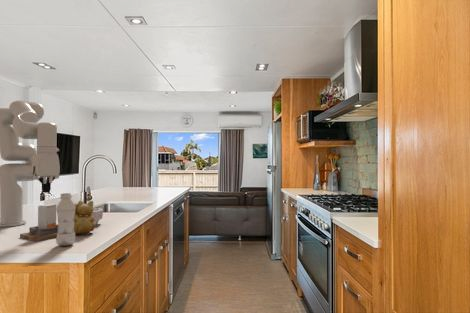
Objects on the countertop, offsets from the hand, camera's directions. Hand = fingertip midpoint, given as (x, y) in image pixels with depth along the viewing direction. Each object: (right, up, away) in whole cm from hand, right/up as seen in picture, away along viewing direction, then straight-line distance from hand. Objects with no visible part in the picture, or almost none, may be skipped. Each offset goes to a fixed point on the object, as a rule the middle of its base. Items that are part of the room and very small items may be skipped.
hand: (46, 192), depth 139 cm
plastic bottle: (+18, -19, -17) cm, 31 cm away
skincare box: (+1, -18, 0) cm, 18 cm away
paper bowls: (+7, -20, +22) cm, 30 cm away
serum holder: (+1, -19, -1) cm, 19 cm away
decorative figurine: (+16, -19, +2) cm, 25 cm away
